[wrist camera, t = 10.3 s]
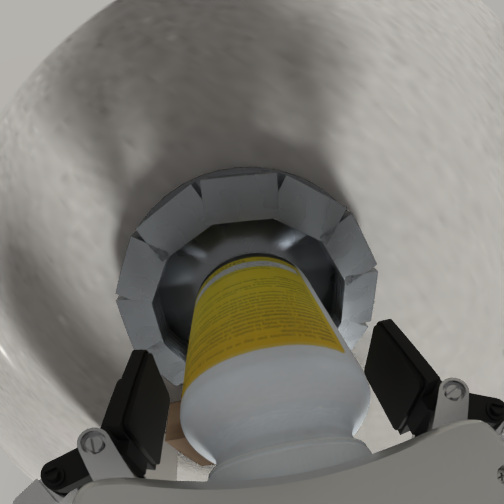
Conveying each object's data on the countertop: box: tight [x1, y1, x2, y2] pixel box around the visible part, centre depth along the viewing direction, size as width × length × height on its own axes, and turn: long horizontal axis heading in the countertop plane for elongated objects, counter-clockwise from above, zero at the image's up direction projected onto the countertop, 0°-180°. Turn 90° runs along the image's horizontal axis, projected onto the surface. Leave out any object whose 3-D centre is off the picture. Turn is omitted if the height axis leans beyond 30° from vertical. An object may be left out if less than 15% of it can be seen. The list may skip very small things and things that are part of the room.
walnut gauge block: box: [165, 401, 214, 466], centre depth 18 cm, size 5×5×4 cm
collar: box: [116, 167, 378, 389], centre depth 15 cm, size 15×15×2 cm
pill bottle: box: [180, 252, 372, 482], centre depth 10 cm, size 6×6×12 cm
